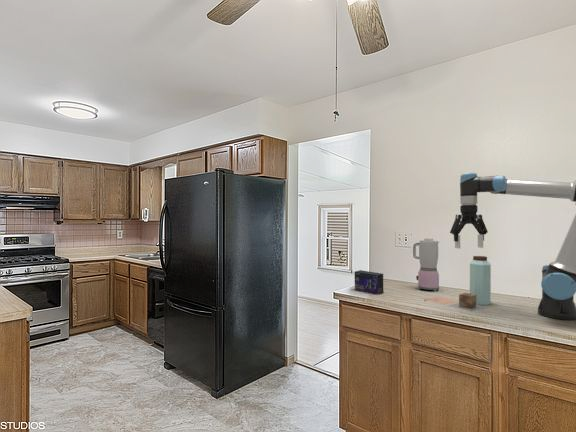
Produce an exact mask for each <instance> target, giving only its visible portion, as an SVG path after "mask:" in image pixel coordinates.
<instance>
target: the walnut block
mask: <svg viewBox="0 0 576 432" xmlns="http://www.w3.org/2000/svg"><path fill="white" fill-rule="evenodd" d="M458 301H459V302H458V303H459V306H460V307H465V308H471V309H472V308H474V307H476V305H477V304H476V295H475V294H470V292H462V293H459V294H458Z"/></svg>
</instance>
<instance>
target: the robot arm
mask: <svg viewBox="0 0 576 432" xmlns="http://www.w3.org/2000/svg"><path fill="white" fill-rule="evenodd" d="M459 181H460V182H459V188H460V190H459V191H460V192H459V195H460V197H459V198H460V200H459V201H460V206H459V207H460V213H461V214H455V219H454V221H453V224H452V226H451V229H450V231H449V233H450V234H452V235H453V241H454V248H455V249H461V234H460V233H461V231H462V230H463V229H464V227H465V226H466V225H470V224H471V225H472V226H473V227H474V229H475V230H476V231H477V232H478V234H477V248H481V249H484V241H485V235H487V234H488V229H487V226H486V224H485V221H484V220H483V215H482V214H477V213H478V205H477V204H478V193H490V194H492V195H493V194H494V195H498V194H500V195H512V196H527V197H538V198H539V197H540V198H553V199H563V200H564V199H566V200H569V201H571V202H575V206H576V179H575V180H573V181H572V182H571V181H568V182H566V181H549V180H529V179H509V178H507V177H506V176H505V175H498V174H497V175H490V176H478V174H477V173H476V172H475V173H474V172H466V173H463V174H461V175H460V179H459ZM541 273H542V274H541V275H542V276H541V278H542V279H541V282H540V283H541V284H540V285H541V292H542V294H541V300H540V302H539V303H538V304H539V305H538V307H537V314H538V315H540V316H543V317H545V318H549V319H556V320H565V321H576V304H575V301H574V295H576V214H575V215H574V217H573V219H572V221H571V224H570V226H569V228H568V231H567V233H566V236H565V238H564V240H563V242H562V244H561V247H560V249H559V252H558V254H557V256H556V258H555V260H554V261H551V262H550V263H548V265H547V264H544V265H543V266H542V268H541Z"/></svg>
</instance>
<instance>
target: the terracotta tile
mask: <svg viewBox="0 0 576 432" xmlns="http://www.w3.org/2000/svg"><path fill="white" fill-rule="evenodd" d="M423 301H424V302H426V301H430V302H433V303H438V304H440V305H450V304H456V303H459V300H455V299H453V298H448V297H443V296H436V297H430V298H429V297H428V298H424V299H423Z"/></svg>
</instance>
